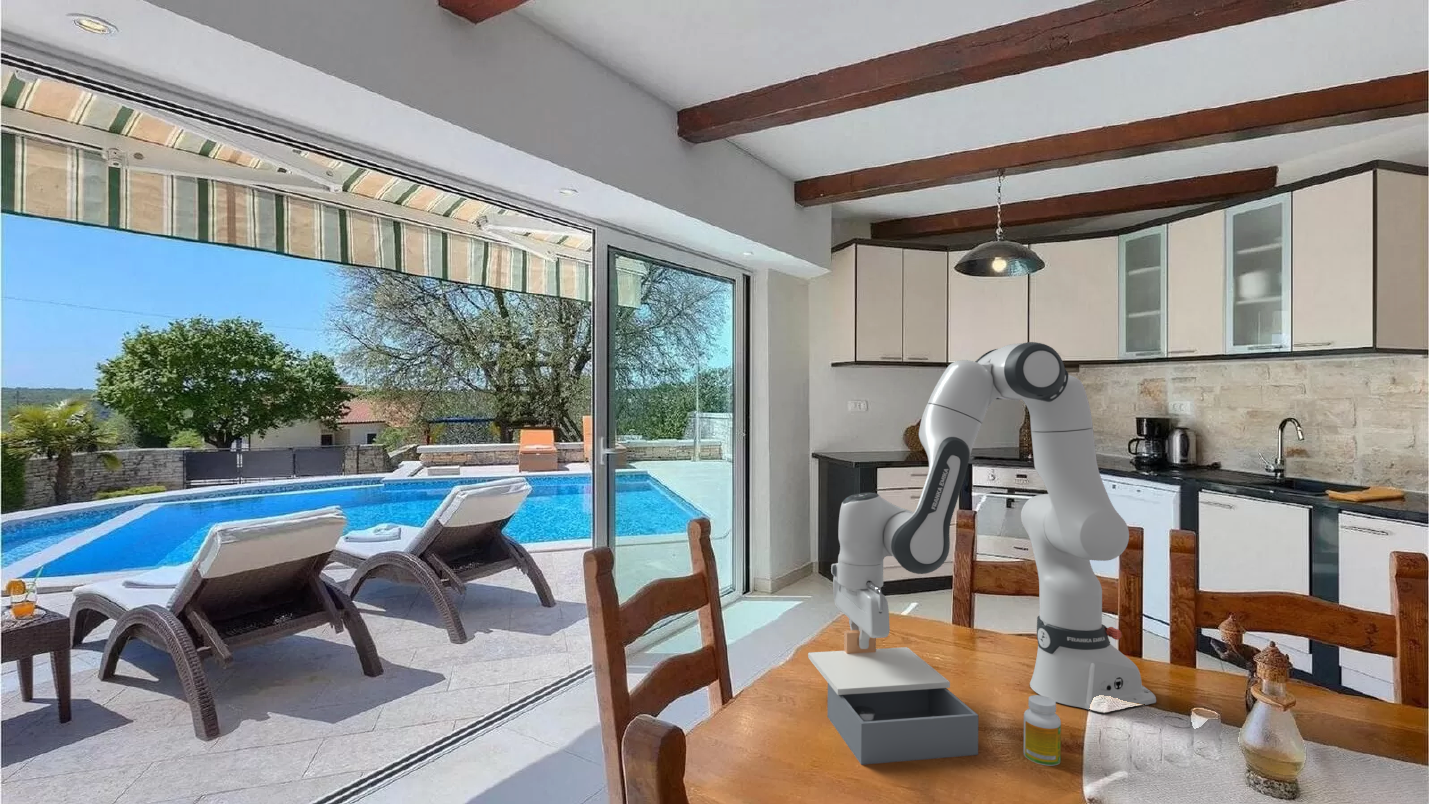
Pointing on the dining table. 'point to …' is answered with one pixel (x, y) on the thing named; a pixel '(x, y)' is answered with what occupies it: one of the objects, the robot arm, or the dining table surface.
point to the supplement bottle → (1042, 731)
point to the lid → (875, 668)
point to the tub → (905, 725)
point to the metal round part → (865, 713)
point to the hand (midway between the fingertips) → (860, 644)
